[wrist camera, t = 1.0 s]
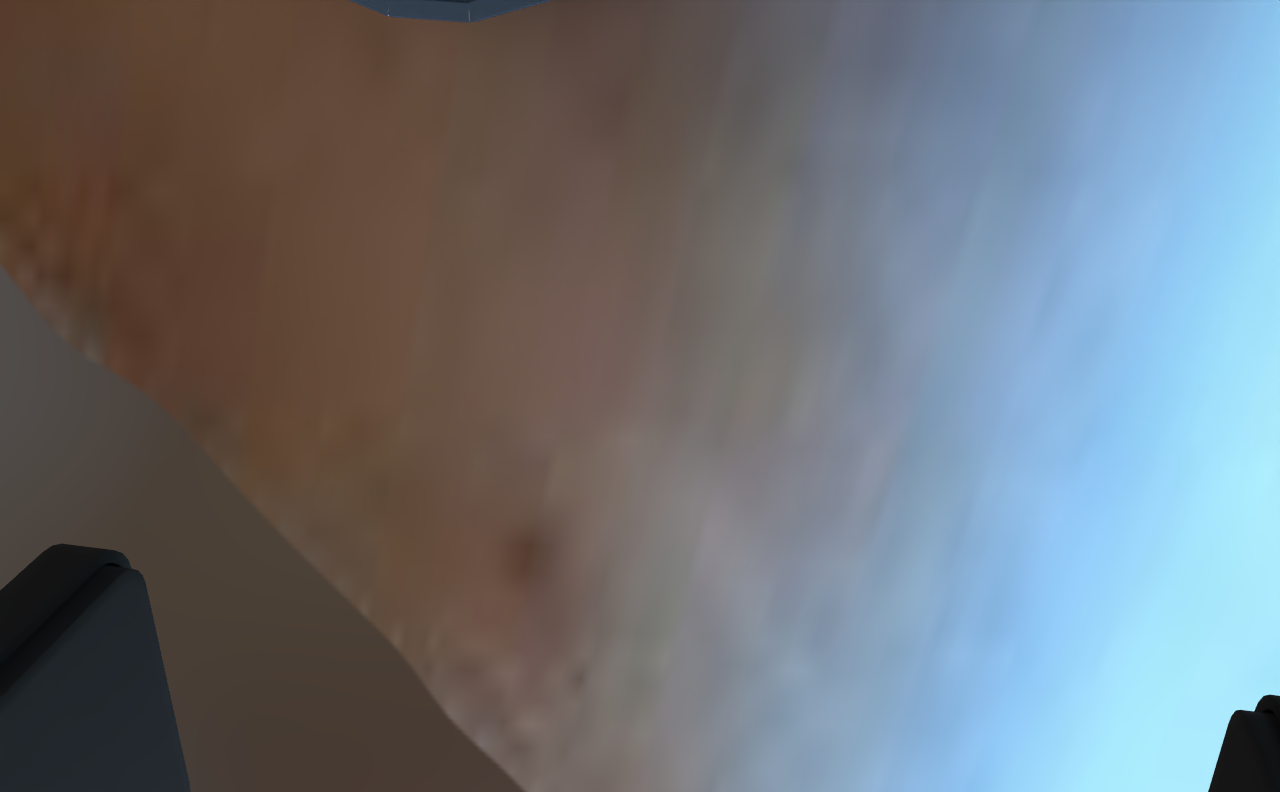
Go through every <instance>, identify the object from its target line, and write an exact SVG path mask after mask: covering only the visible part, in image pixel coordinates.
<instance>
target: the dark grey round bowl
mask: <svg viewBox="0 0 1280 792" xmlns="http://www.w3.org/2000/svg"><path fill="white" fill-rule="evenodd" d="M350 1H352V2H355V3H357V4H359V5H362V6H364V7H367V8H369V9H372V10H374V11H376V12H379V13H381V14H384V15H386V16H390V17H398V18H412V19H426V20H440V21H453V22H467V23H470V22H477V21H480V20H484V19H487V18H491V17H495V16H498V15H502V14H505V13H509V12H513V11H516V10H520V9H523V8H527V7H530V6H534V5H538V4H541V3H545V2H548V1H551V0H350Z"/></svg>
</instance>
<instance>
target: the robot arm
mask: <svg viewBox="0 0 1280 792" xmlns="http://www.w3.org/2000/svg"><path fill="white" fill-rule="evenodd" d="M0 792H190V784H189V779H188V774H187V770H186V765H185V761H184V756H183V751H182V747H181V743H180V738H179V733H178V729H177V724H176V719H175V715H174V710H173V706H172V701H171V697H170V692H169V688H168V683H167V678H166V674H165V670H164V665H163V660H162V656H161V651H160V647H159V642H158V638H157V633H156V628H155V624H154V620H153V615H152V610H151V606H150V601H149V596H148V592H147V588H146V583H145V580H144V578H143V576H142V574H141V573H140V572H139V571H138V570H134V569H131V566H130V563H129V561H128V559H127V558H126V557H125V556H124V555H123V553H121V552H118V551H115V550H108V549H99V548H92V547H83V546H76V545H68V544H58V545H53V546H51V547H50V548H48V549H47V550H45V551H44V552H43V553H42V554H40V555H39V556H38V557H37V558H36V559H35V560H34V561H33V562H31V563H30V564H29V565H28V566H27V567H26V568H25V569H24V570H23V571H21V572H20V573H19V574H18V575H17V576H16V577H15V578H14V579H13V580H12V581H10V582H9V583H8V584H7V585H6V586H5V587H4V588H3V589H2V590H0ZM1208 792H1280V696H1276V695H1266V696H1263V697H1262V699H1261V700H1260V701H1259V702H1258V704H1257V706H1256V709H1255V711H1254V712H1252V711H1245V710H1237V711H1235V712H1234V714H1233V715H1232V716H1231V719H1230V721H1229V724H1228V727H1227V731H1226V734H1225V737H1224V741H1223V744H1222V747H1221V751H1220V754H1219V757H1218V761H1217V764H1216V768H1215V771H1214V774H1213V778H1212V781H1211V784H1210V788H1209V791H1208Z"/></svg>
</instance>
